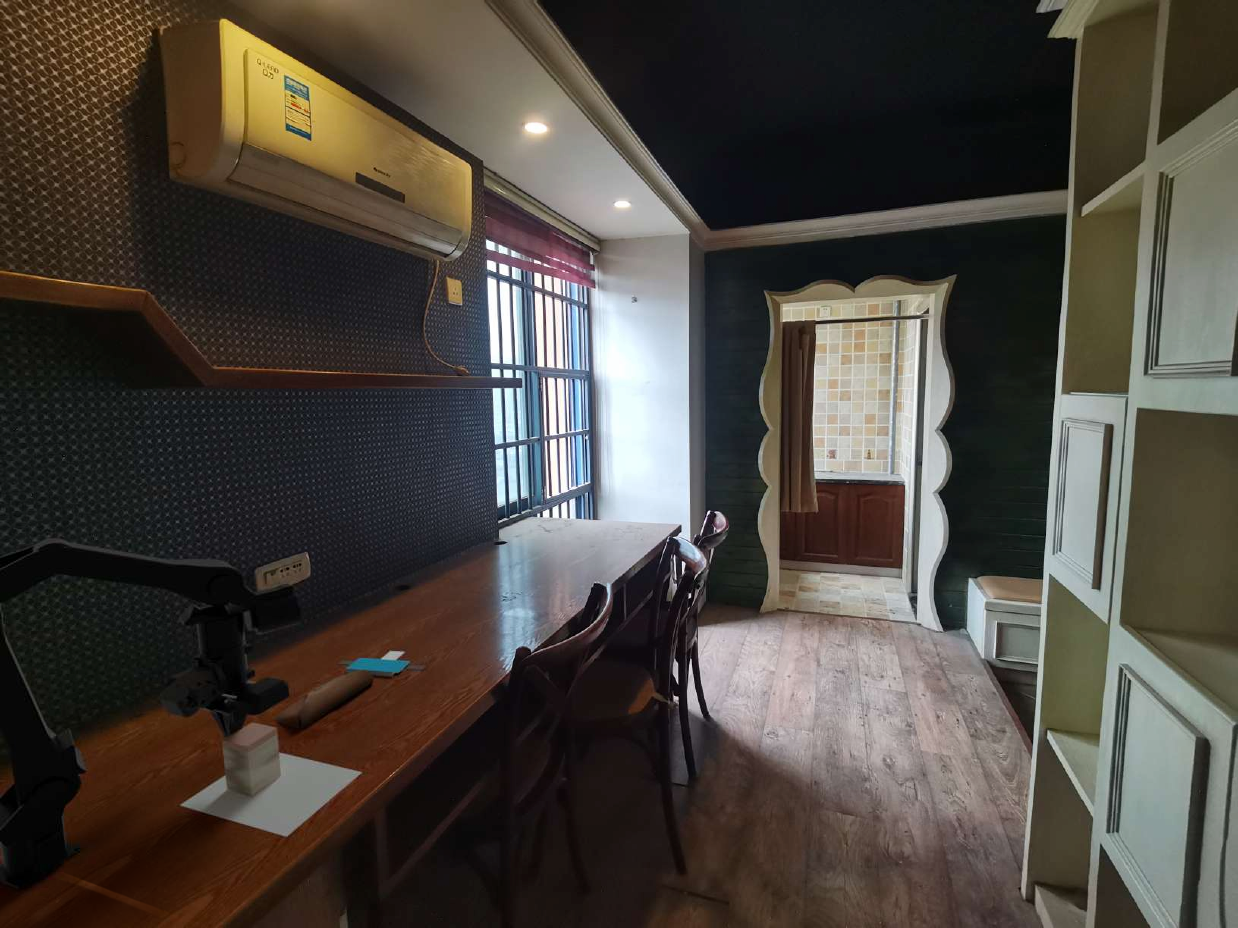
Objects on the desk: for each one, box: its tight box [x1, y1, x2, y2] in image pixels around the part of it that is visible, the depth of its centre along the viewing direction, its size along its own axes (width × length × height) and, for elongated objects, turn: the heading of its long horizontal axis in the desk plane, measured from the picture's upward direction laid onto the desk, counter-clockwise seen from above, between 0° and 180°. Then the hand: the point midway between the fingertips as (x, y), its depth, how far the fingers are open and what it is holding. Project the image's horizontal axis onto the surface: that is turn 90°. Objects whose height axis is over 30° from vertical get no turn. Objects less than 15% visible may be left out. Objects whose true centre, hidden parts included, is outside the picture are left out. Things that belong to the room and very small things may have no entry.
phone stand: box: [337, 650, 426, 678], centre depth 129 cm, size 20×12×2 cm, turn 81°
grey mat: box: [179, 752, 363, 838], centre depth 88 cm, size 20×14×1 cm
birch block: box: [221, 721, 281, 797], centre depth 89 cm, size 5×5×8 cm
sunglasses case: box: [272, 670, 374, 731], centre depth 113 cm, size 18×7×7 cm
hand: (232, 740), depth 90 cm, fingers closed
